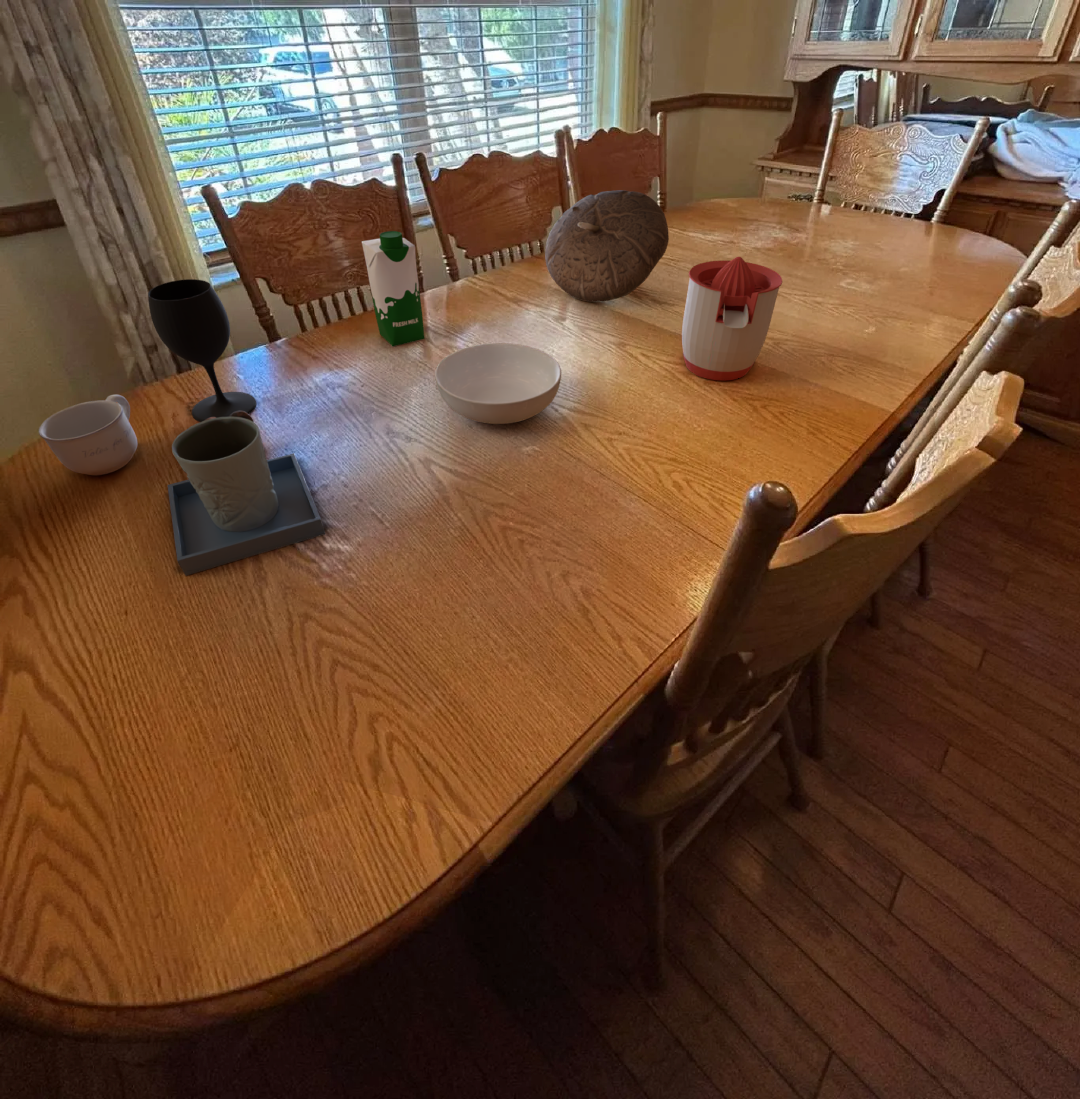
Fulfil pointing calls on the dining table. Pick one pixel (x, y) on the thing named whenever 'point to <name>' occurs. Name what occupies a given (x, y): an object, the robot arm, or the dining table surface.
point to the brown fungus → (606, 245)
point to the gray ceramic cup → (228, 472)
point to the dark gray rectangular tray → (214, 546)
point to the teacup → (92, 436)
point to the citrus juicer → (727, 317)
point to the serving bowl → (498, 382)
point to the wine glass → (197, 337)
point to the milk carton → (394, 288)
